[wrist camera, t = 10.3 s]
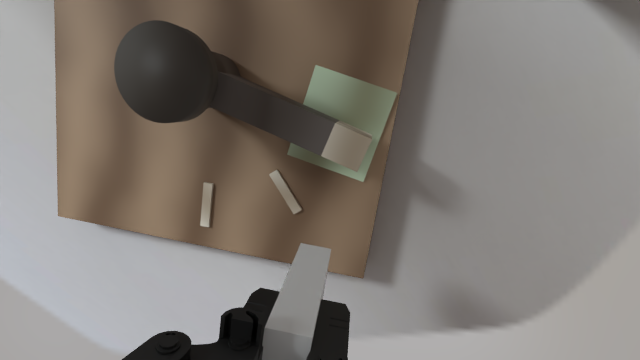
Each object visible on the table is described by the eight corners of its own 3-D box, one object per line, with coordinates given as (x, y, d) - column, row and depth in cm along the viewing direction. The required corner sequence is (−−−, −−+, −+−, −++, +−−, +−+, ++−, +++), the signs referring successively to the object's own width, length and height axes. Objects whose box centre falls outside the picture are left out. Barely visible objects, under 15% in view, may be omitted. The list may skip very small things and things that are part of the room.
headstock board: (79, 208, 28) (55, 216, 25) (79, -87, 23) (49, -106, 21) (363, 265, 25) (363, 279, 23) (425, -47, 21) (431, -64, 19)
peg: (172, 100, 22) (103, 100, 17) (194, 31, 21) (128, 3, 15) (350, 180, 22) (343, 208, 16) (381, 112, 21) (385, 116, 15)
